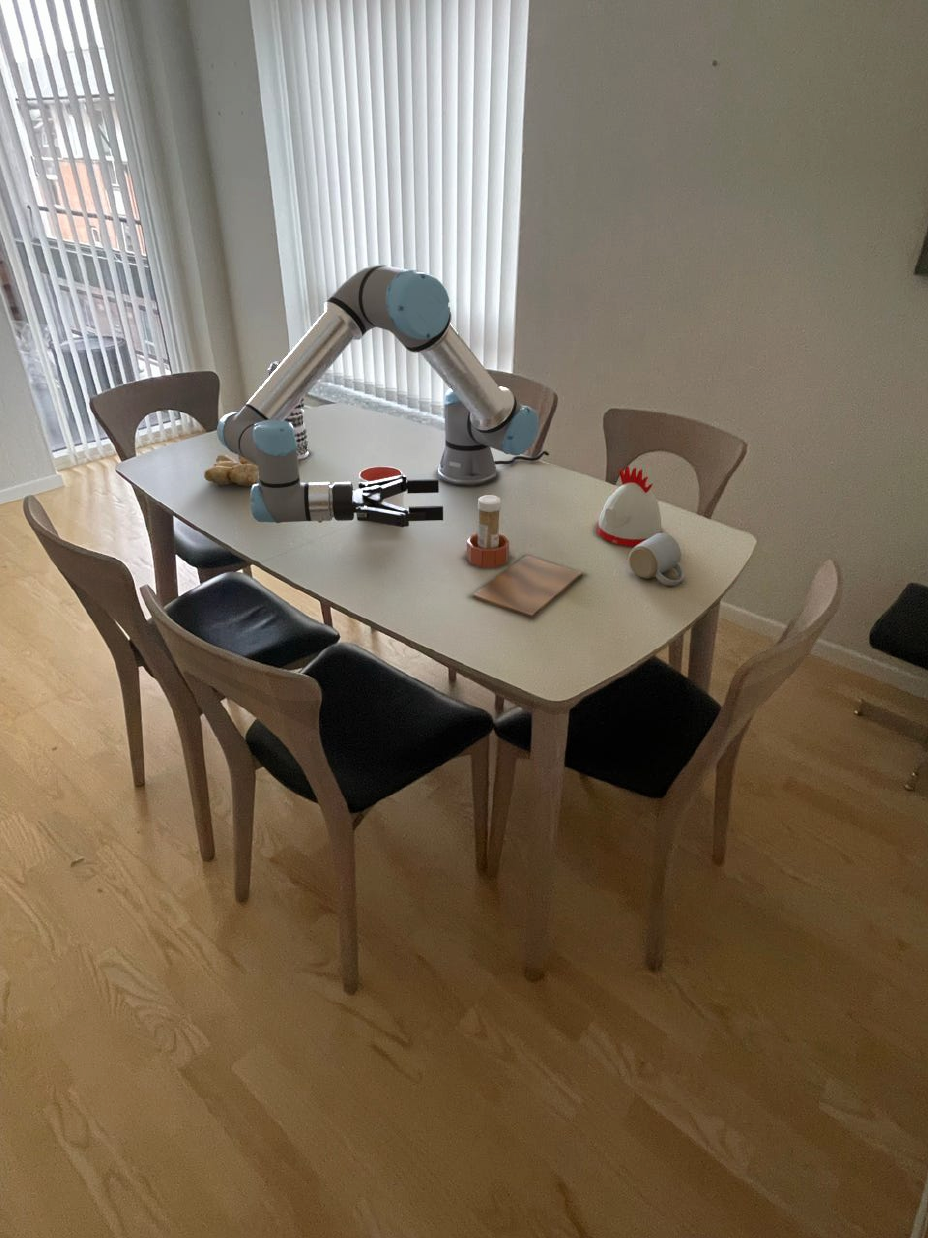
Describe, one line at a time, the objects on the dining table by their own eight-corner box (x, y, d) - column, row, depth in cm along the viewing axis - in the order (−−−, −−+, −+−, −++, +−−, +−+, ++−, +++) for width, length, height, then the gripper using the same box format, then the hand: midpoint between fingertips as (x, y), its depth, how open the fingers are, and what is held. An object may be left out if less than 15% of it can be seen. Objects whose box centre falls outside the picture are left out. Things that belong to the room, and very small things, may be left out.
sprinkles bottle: (500, 562, 154) (503, 502, 147) (479, 564, 153) (481, 504, 146) (495, 552, 158) (497, 493, 151) (474, 554, 157) (475, 495, 150)
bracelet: (481, 545, 161) (481, 528, 159) (515, 556, 157) (516, 539, 154) (459, 560, 155) (459, 543, 153) (494, 571, 151) (494, 554, 149)
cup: (397, 525, 169) (395, 484, 163) (355, 521, 170) (352, 480, 165) (409, 507, 177) (407, 468, 172) (369, 504, 179) (366, 464, 173)
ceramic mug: (623, 572, 151) (628, 538, 147) (648, 559, 155) (654, 526, 151) (666, 593, 144) (673, 558, 140) (691, 579, 149) (698, 545, 145)
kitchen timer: (621, 514, 175) (629, 452, 167) (672, 532, 167) (683, 469, 159) (585, 531, 167) (591, 468, 159) (636, 552, 158) (646, 486, 150)
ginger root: (246, 493, 180) (235, 461, 177) (195, 499, 186) (184, 468, 183) (280, 473, 193) (271, 443, 189) (232, 479, 199) (221, 450, 195)
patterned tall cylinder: (306, 460, 203) (296, 367, 190) (273, 460, 203) (260, 366, 190) (313, 449, 211) (303, 358, 197) (280, 448, 211) (269, 358, 197)
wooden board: (526, 557, 156) (526, 555, 156) (581, 575, 150) (582, 572, 150) (473, 597, 142) (473, 594, 142) (531, 618, 136) (531, 615, 136)
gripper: (337, 494, 158) (437, 492, 160) (330, 547, 137) (445, 543, 139) (335, 460, 154) (436, 458, 156) (327, 509, 133) (444, 506, 135)
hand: (440, 498), depth 148 cm, fingers open, 13 cm apart
